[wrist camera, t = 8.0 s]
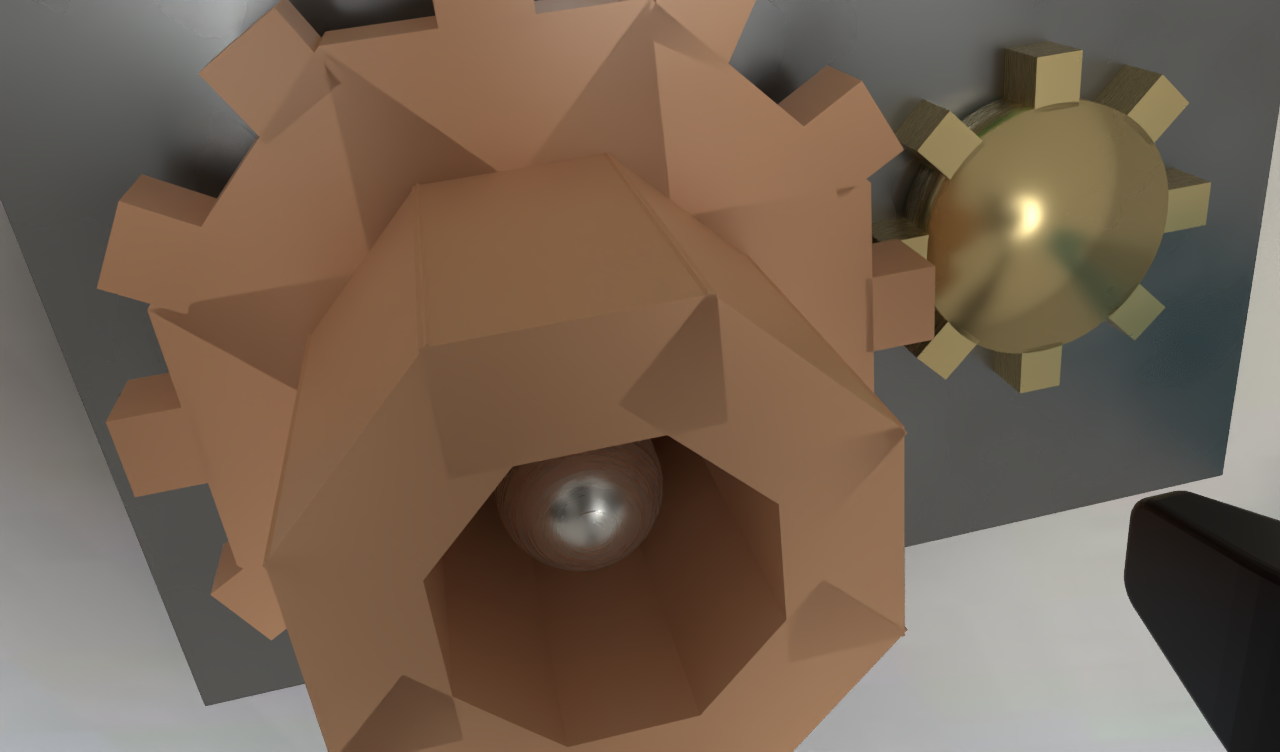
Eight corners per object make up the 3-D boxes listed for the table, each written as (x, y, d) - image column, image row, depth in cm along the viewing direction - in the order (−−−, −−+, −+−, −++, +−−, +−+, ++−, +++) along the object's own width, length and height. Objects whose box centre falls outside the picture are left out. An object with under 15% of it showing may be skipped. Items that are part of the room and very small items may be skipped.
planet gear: (899, 568, 18) (1107, 858, 13) (252, 715, 17) (183, 1111, 11) (897, -129, 13) (1231, -131, 8) (-16, -6, 12) (-358, 94, 6)
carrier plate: (1187, 449, 21) (1520, 693, 15) (214, 666, 19) (119, 1069, 12) (1281, -239, 16) (1865, -312, 9) (-70, -61, 13) (-488, -3, 7)
